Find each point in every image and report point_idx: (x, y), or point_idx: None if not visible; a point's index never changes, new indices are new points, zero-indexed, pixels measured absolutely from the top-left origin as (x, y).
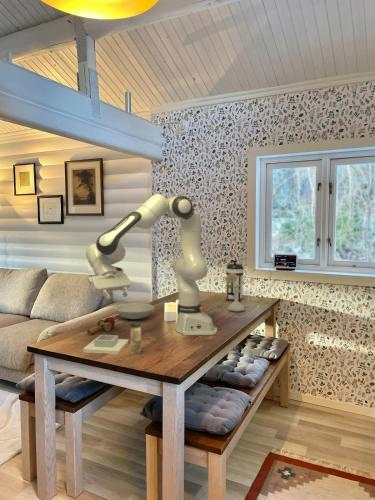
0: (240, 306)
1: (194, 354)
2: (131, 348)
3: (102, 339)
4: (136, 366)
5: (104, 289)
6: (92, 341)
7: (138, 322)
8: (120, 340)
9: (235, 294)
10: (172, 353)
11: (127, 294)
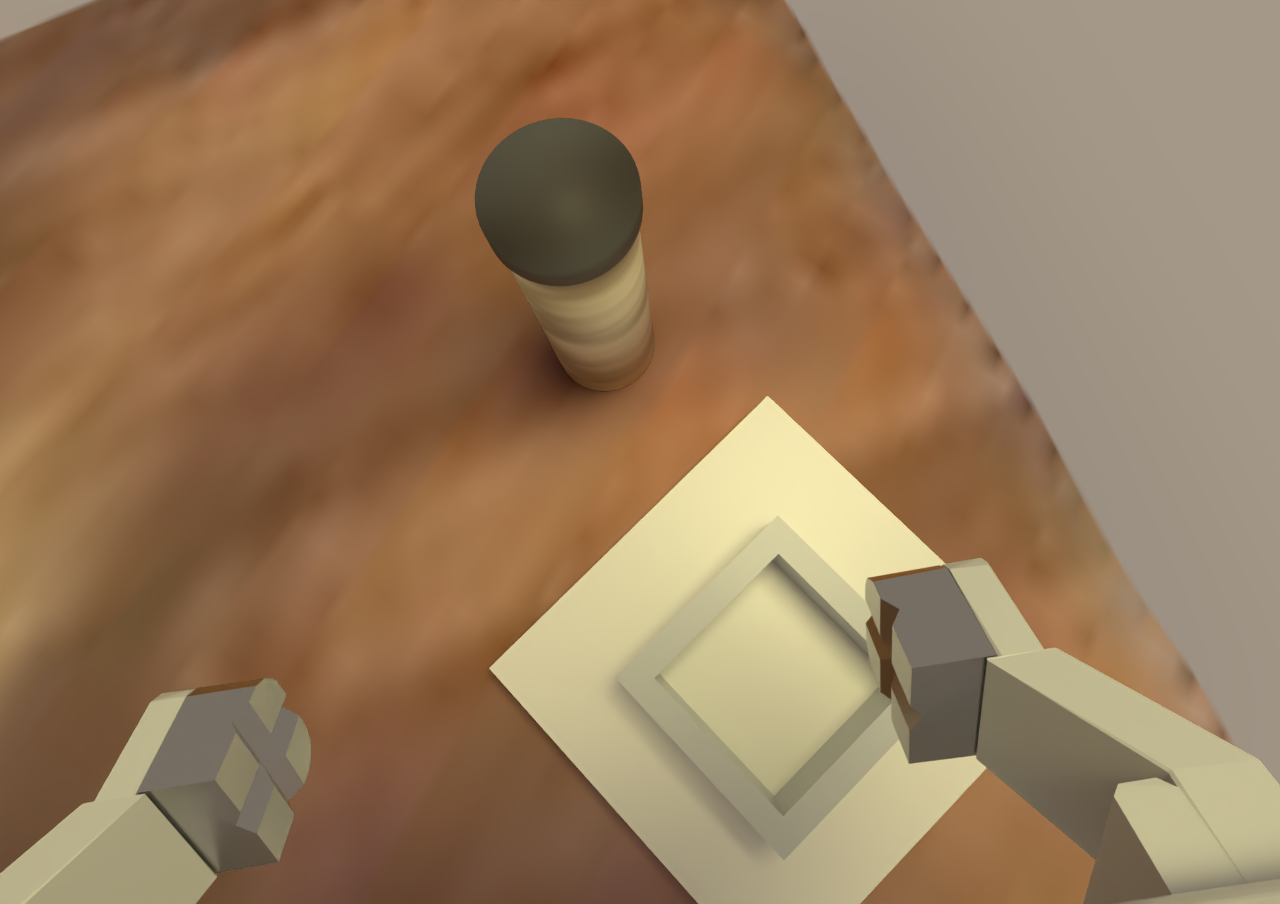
0: None
1: (225, 31)
2: (651, 324)
3: (774, 800)
4: (770, 73)
5: (1249, 884)
6: (872, 877)
7: (509, 197)
8: (578, 697)
9: None
10: (350, 148)
11: (177, 693)
